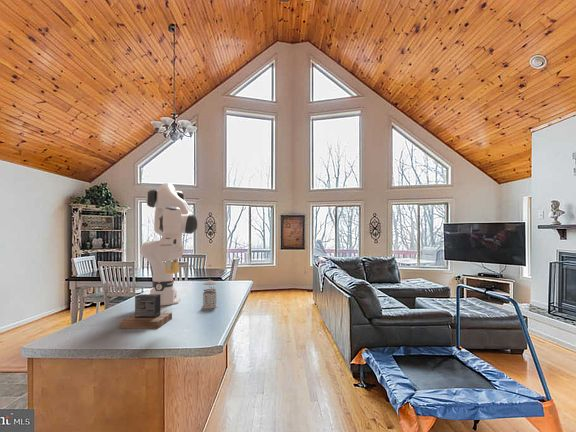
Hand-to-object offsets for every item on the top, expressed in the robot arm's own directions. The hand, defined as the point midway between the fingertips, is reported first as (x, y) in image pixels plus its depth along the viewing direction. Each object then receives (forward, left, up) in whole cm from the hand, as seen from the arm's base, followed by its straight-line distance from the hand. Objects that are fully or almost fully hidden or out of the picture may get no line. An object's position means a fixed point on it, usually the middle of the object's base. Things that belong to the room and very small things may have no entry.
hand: (171, 269), depth 168 cm
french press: (-42, +8, -27) cm, 51 cm away
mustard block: (0, 0, -2) cm, 2 cm away
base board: (-5, -14, -27) cm, 30 cm away
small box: (-6, -14, -24) cm, 28 cm away
